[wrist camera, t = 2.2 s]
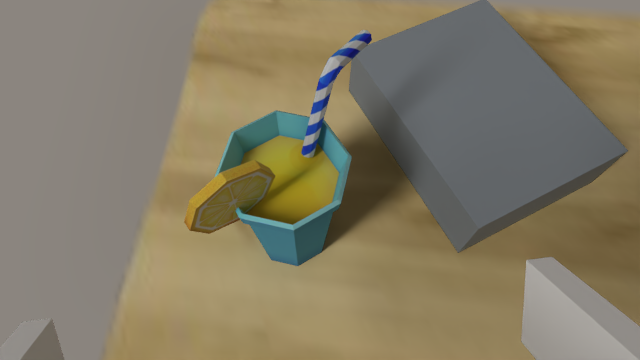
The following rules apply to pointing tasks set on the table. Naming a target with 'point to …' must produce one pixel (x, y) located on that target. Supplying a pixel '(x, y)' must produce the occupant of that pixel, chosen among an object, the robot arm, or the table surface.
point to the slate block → (478, 121)
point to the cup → (282, 175)
